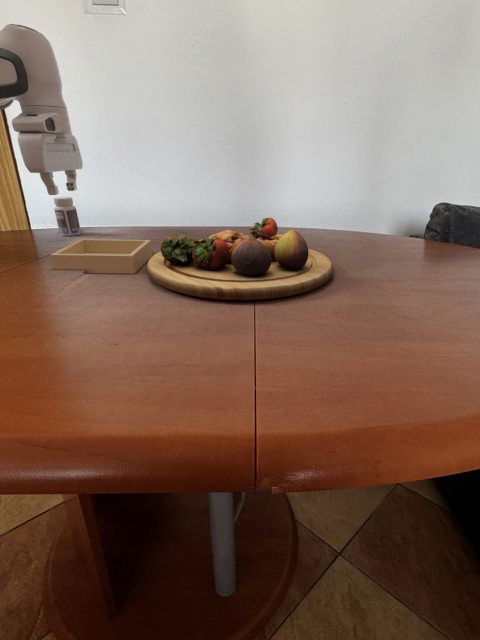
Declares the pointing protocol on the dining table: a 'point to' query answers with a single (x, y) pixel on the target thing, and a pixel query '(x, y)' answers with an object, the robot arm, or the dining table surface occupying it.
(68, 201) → the pill bottle
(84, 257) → the tray
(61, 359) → the dining table surface
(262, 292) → the wooden plate
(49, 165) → the robot arm
